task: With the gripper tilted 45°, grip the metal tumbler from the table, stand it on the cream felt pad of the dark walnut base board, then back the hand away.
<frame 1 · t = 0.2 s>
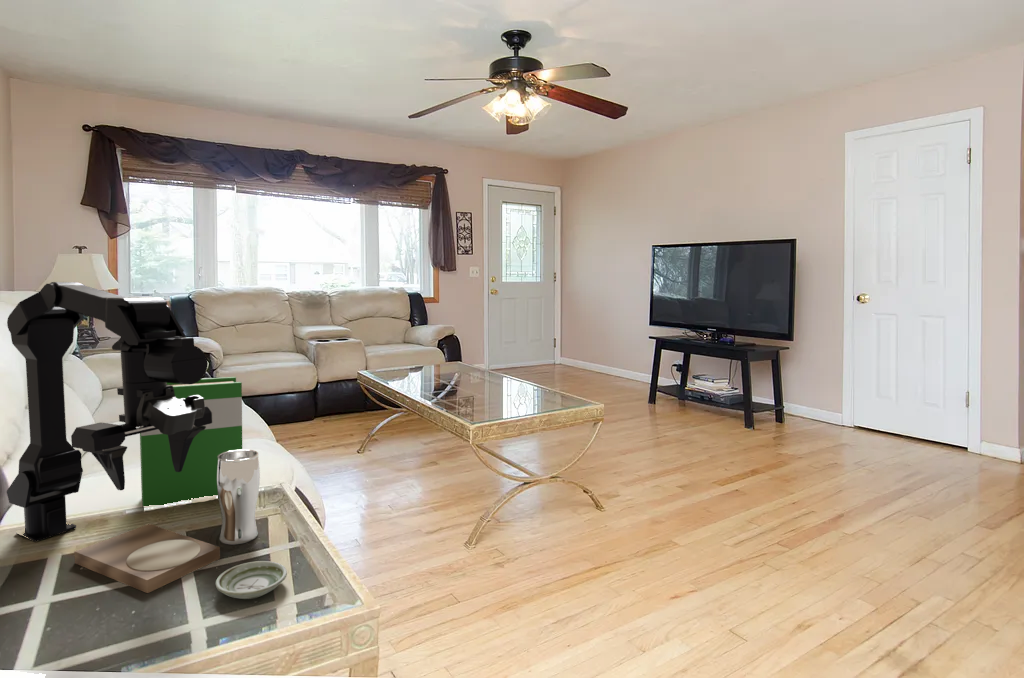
hand: (150, 480, 91), 14 cm above the table, tool pointing down, fingers open, 9 cm apart
hardback book: (193, 498, 121), on the table
metal tumbler: (239, 538, 104), on the table
saucer: (252, 592, 87), on the table
walnut base: (148, 561, 95), on the table
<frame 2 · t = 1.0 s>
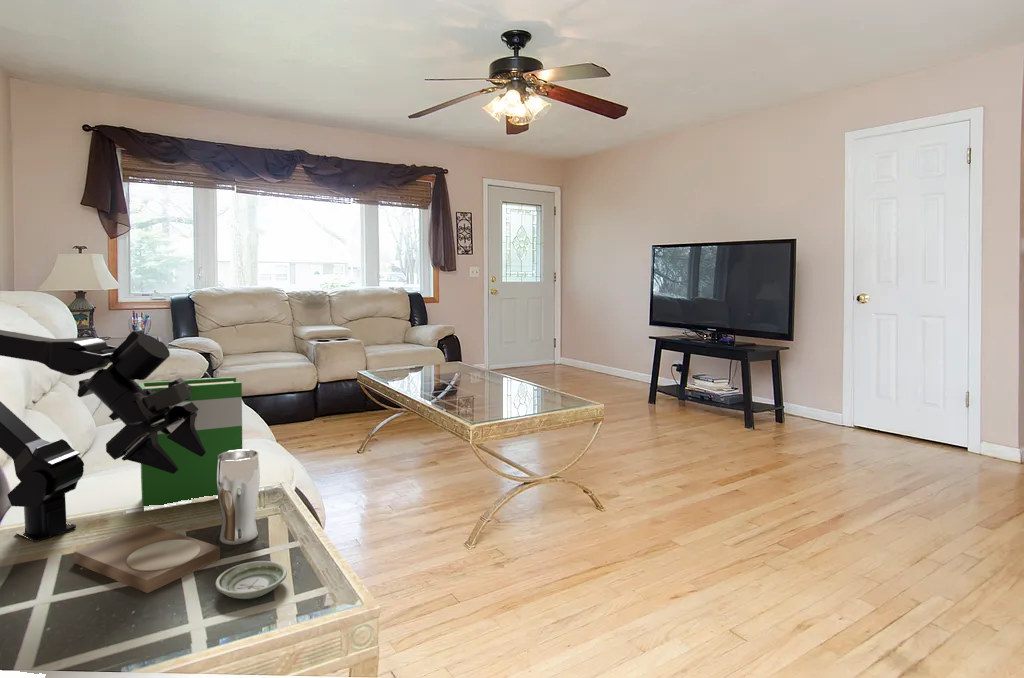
hand: (190, 462, 102), 13 cm above the table, tool tilted 45°, fingers open, 9 cm apart
nothing on the table moved.
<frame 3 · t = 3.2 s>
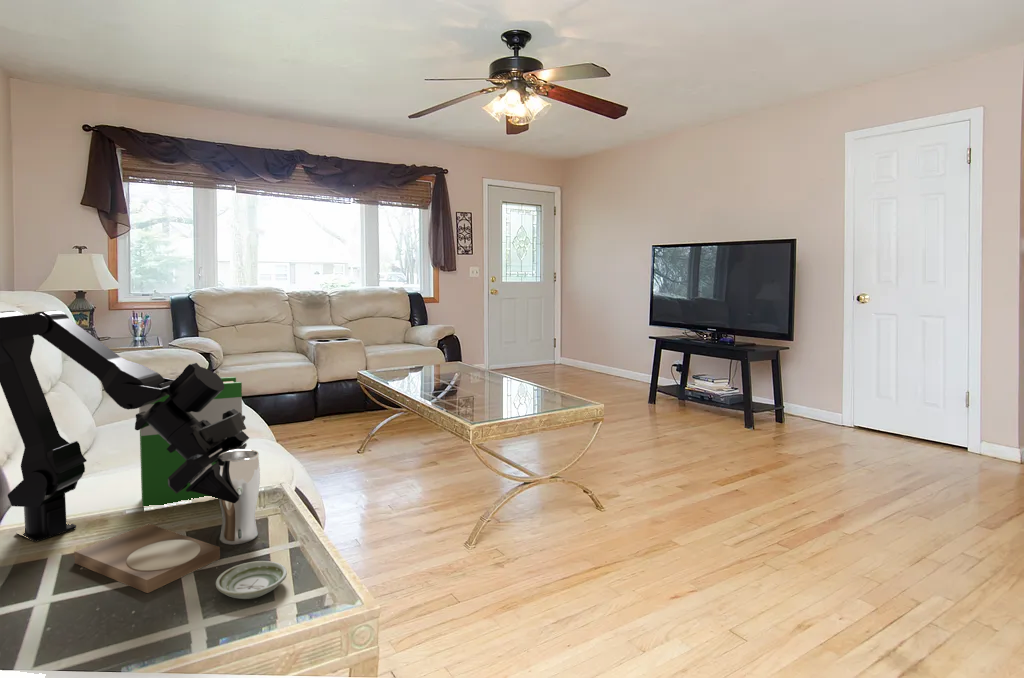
hand: (246, 493, 103), 8 cm above the table, tool tilted 45°, fingers open, 7 cm apart
metal tumbler: (239, 538, 104), on the table, touching gripper
everything else where it was.
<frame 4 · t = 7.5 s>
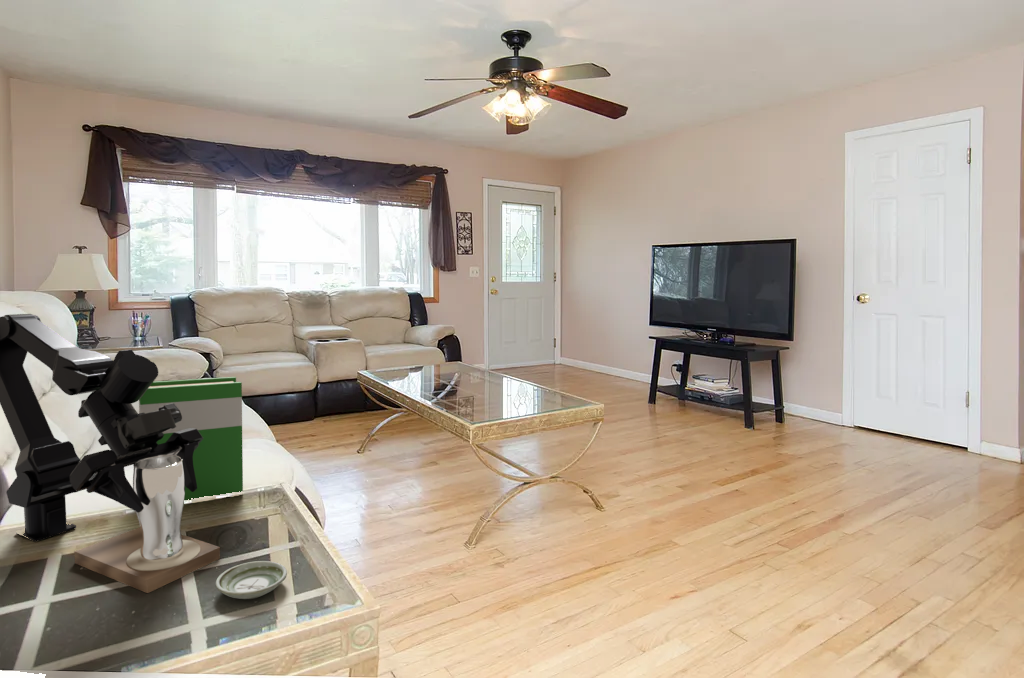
hand: (169, 500, 91), 11 cm above the table, tool tilted 45°, fingers open, 9 cm apart
metal tumbler: (162, 554, 93), point 2 cm above the table, touching walnut base
everything else where it was.
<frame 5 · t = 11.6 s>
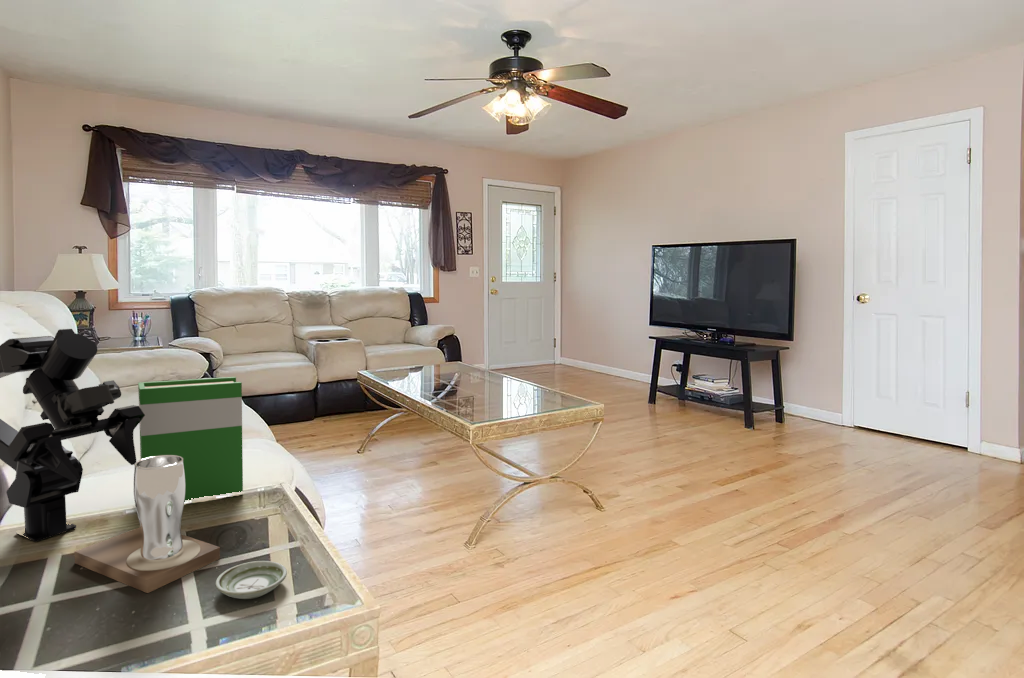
hand: (107, 471, 96), 14 cm above the table, tool tilted 45°, fingers open, 9 cm apart
nothing on the table moved.
at the end: metal tumbler inside the target area on the walnut base (0.3 cm from its centre), point 2.0 cm above the walnut base's base; metal tumbler tilted 0°; the gripper is holding nothing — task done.
